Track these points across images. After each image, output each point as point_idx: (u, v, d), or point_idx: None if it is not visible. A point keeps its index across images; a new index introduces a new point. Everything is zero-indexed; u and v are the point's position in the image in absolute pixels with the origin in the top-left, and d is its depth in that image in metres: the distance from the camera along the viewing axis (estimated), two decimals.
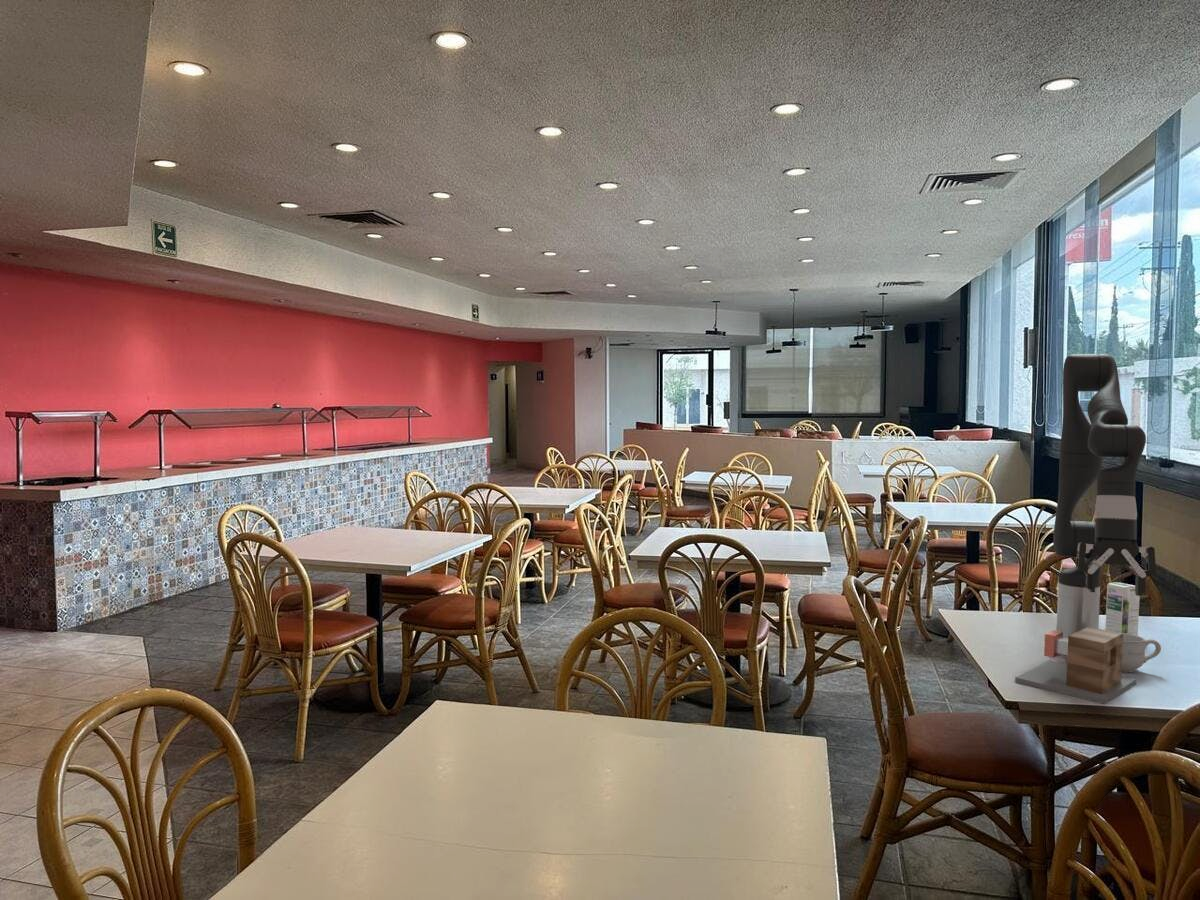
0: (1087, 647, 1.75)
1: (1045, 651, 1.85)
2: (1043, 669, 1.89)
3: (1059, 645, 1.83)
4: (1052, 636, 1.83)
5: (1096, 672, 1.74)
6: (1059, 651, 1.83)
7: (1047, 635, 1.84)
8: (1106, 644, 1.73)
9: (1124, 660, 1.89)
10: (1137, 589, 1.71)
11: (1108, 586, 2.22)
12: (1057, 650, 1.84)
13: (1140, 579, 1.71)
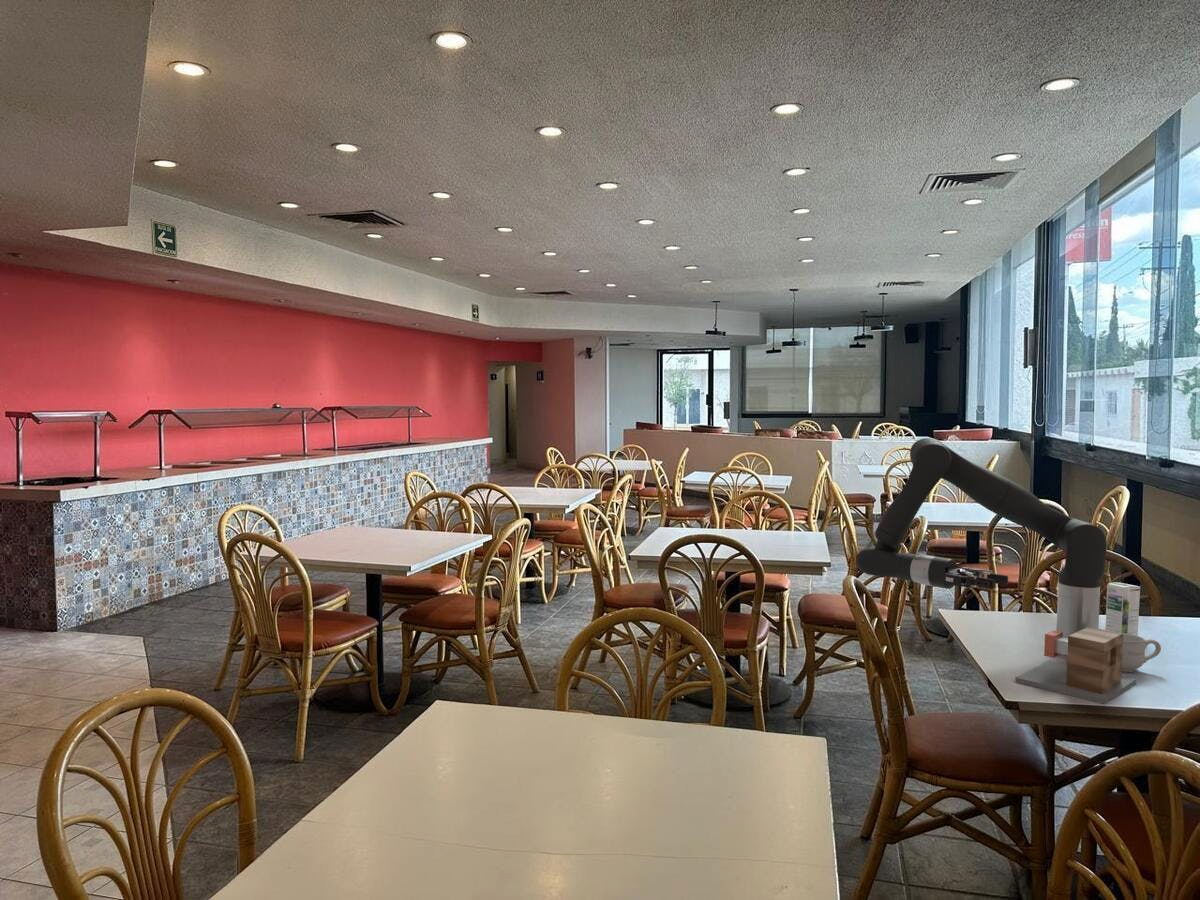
0: (1087, 647, 1.75)
1: (1045, 651, 1.85)
2: (1043, 669, 1.89)
3: (1059, 645, 1.83)
4: (1052, 636, 1.83)
5: (1096, 672, 1.74)
6: (1059, 651, 1.83)
7: (1047, 635, 1.84)
8: (1106, 644, 1.73)
9: (1124, 660, 1.89)
10: None
11: (1108, 586, 2.22)
12: (1057, 650, 1.84)
13: None
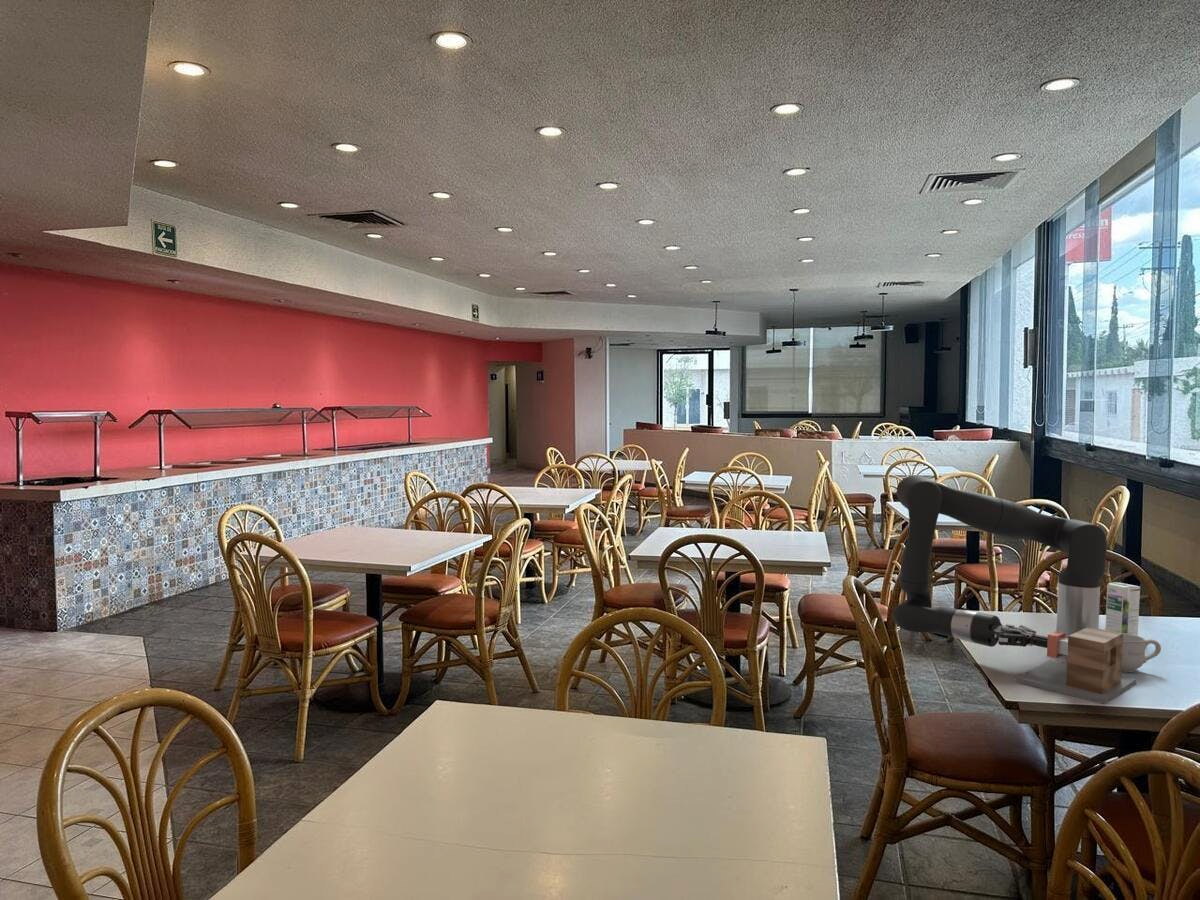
0: (1087, 647, 1.75)
1: (1048, 652, 1.84)
2: (1043, 669, 1.89)
3: (1062, 646, 1.83)
4: (1055, 637, 1.83)
5: (1096, 672, 1.74)
6: (1062, 652, 1.83)
7: (1050, 636, 1.84)
8: (1106, 644, 1.73)
9: (1124, 660, 1.89)
10: None
11: (1108, 586, 2.22)
12: (1059, 651, 1.83)
13: None
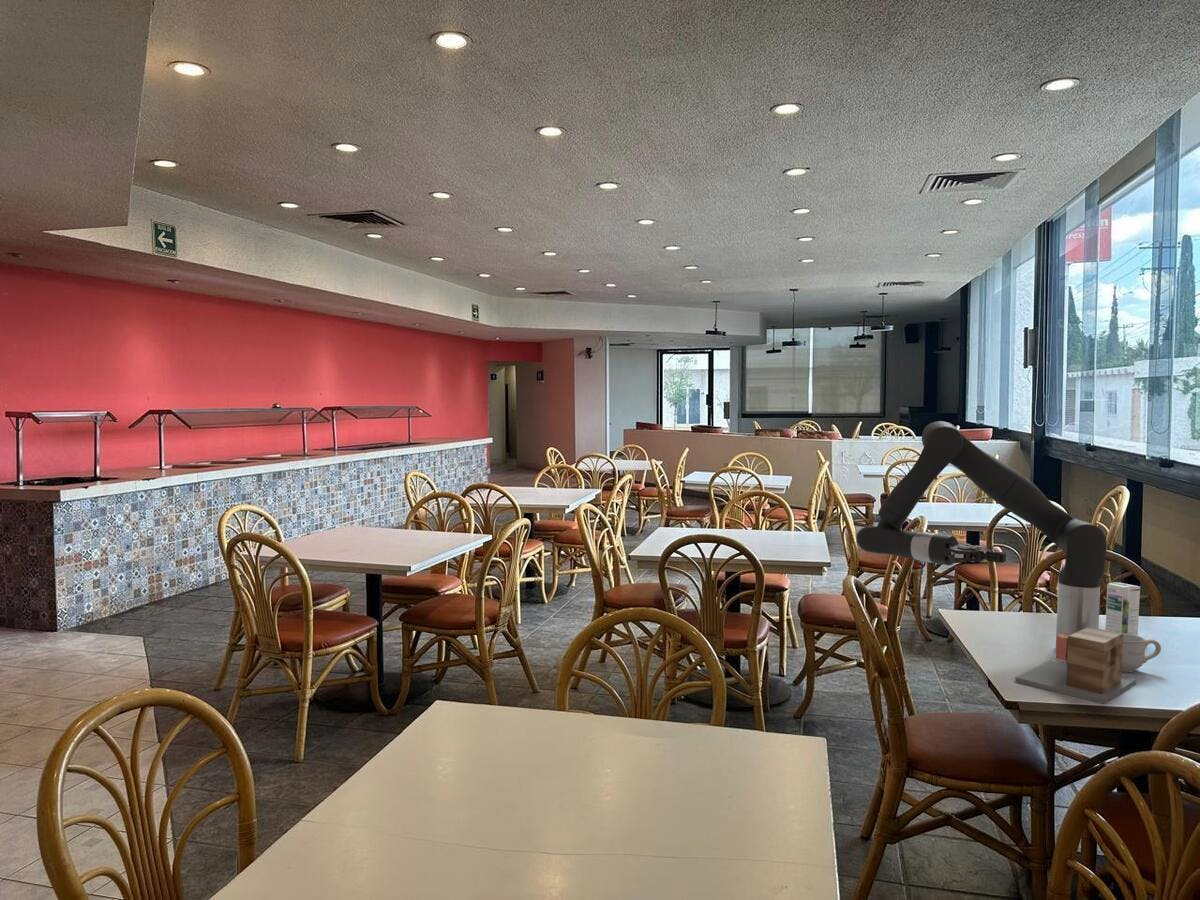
0: (1087, 647, 1.75)
1: (1057, 654, 1.83)
2: (1043, 669, 1.89)
3: None
4: (1064, 638, 1.81)
5: (1096, 672, 1.74)
6: None
7: (1059, 637, 1.82)
8: (1106, 644, 1.73)
9: (1124, 660, 1.89)
10: None
11: (1108, 586, 2.22)
12: None
13: None
